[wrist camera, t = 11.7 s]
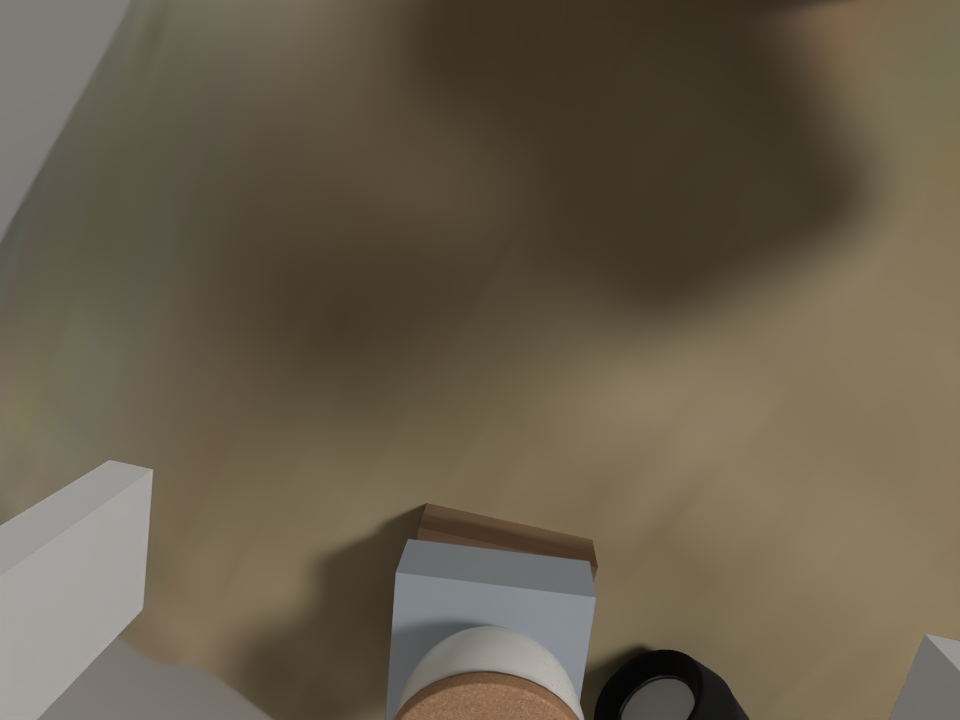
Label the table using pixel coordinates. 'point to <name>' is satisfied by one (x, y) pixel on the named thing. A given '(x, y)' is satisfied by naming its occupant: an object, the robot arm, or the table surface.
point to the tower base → (501, 535)
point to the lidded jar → (488, 680)
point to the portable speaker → (666, 691)
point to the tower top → (487, 604)
